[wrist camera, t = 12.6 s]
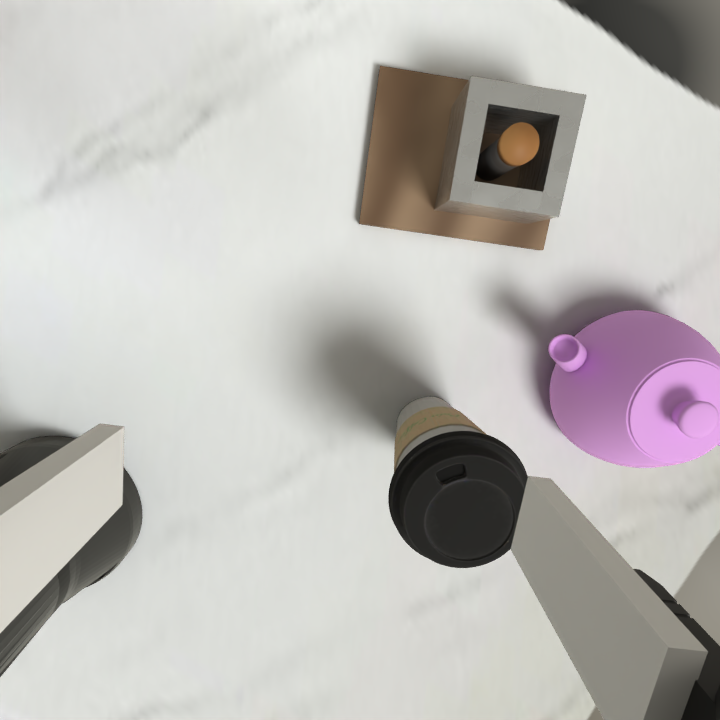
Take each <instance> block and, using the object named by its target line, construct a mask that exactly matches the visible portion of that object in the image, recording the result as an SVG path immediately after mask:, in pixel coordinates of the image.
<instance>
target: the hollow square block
mask: <svg viewBox="0 0 720 720" xmlns="http://www.w3.org/2000/svg"><path fill="white" fill-rule="evenodd" d="M585 99H586V95H584V94H578V93H572V92H566V91H560V90H554V89H548V88H542V87H536V86H530V85H524V84H518V83H512V82H506V81H500V80H494V79H487V78H481V77H475V76H471V77H470V79H469V80H468V82H467V83H466V85H465V86H464V88H463V90H462V91H461V93H460V94H459V96H458V98H457V99H456V101H455V102H454V104H453V105H452V108H451V114H450V120H449V126H448V132H447V138H446V144H445V150H444V156H443V162H442V168H441V174H440V179H439V185H438V191H437V197H436V203H435V209H434V210H438V211H445V212H451V213H458V214H465V215H471V216H478V217H485V218H491V219H498V220H504V221H511V222H518V223H524V224H529V223H533V222H538V221H542V220H547V219H551V218H556V217H559V214H560V209H561V205H562V201H563V196H564V192H565V187H566V183H567V179H568V174H569V170H570V165H571V161H572V157H573V152H574V148H575V143H576V139H577V135H578V130H579V126H580V121H581V117H582V113H583V108H584V104H585ZM519 122H524V123H528V124H530V125H532V126H533V127H534V128H535V129H536V131H537V133H538V135H539V148H538V151H537V153H536V155H535V156H534V157H533V158H532V159H531V160H530V161H528V162H527V163H525V164H523V165H521V168H520V173H519V178H518V183H517V188H515V187H509V186H502V185H496V184H489V183H483V182H476V181H474V180H475V174H476V169H477V164H478V158H479V153H480V147H481V142H482V137H483V132H485V133H491V134H498V135H501V134H502V133H503V132H504V131H505V130H506V129H507V128H509V127H510V126H511V125H513V124H515V123H519Z"/></svg>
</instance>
